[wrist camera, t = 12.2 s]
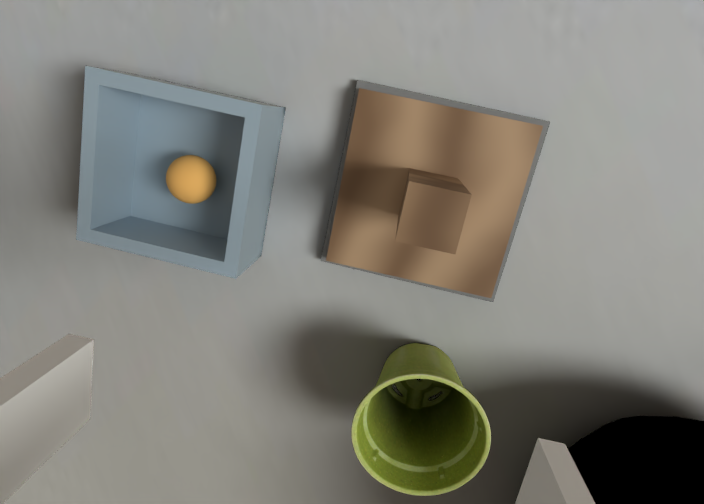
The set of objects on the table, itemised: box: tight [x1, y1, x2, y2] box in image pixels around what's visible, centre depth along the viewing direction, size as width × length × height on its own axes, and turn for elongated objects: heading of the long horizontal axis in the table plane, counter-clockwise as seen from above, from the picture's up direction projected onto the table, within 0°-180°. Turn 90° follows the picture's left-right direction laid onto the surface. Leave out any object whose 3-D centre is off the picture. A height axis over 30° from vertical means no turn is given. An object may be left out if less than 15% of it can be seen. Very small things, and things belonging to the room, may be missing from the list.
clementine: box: [166, 155, 217, 204], centre depth 36 cm, size 4×4×4 cm
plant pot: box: [351, 343, 491, 496], centre depth 37 cm, size 9×9×9 cm
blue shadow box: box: [76, 66, 286, 279], centre depth 36 cm, size 12×12×6 cm
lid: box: [326, 88, 543, 298], centre depth 32 cm, size 13×13×9 cm
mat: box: [321, 80, 550, 302], centre depth 37 cm, size 14×14×1 cm
